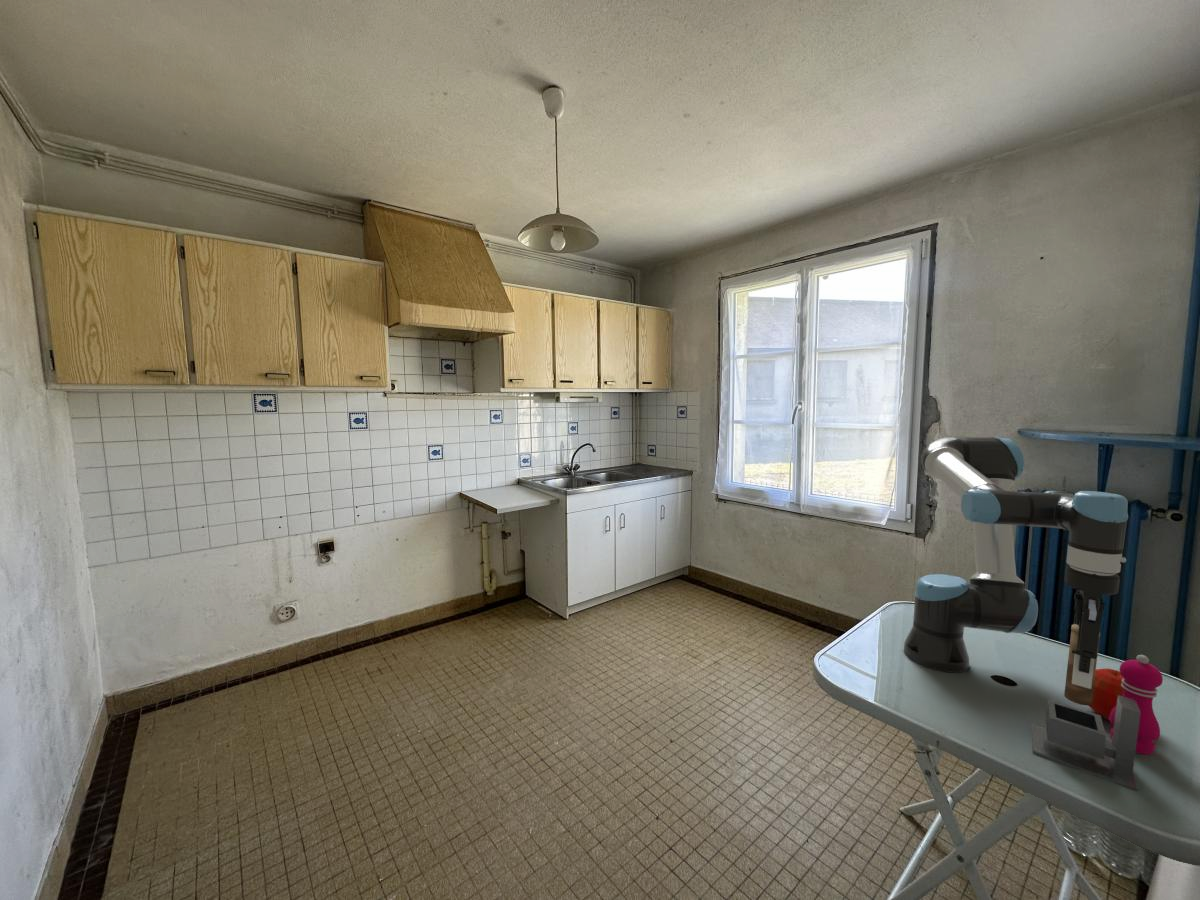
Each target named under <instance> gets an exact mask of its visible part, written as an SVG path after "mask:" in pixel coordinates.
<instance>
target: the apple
mask: <svg viewBox="0 0 1200 900" xmlns="http://www.w3.org/2000/svg"><path fill="white" fill-rule="evenodd" d="M1122 679H1124V678H1123V676H1122V675H1121V674H1120V670H1117V669H1116V670H1115V669H1113V668H1098V669H1097V668H1096V671H1095V680H1094V688H1093V697H1092V704H1091V705H1089V706H1088V707H1089V708H1090V709H1091V710H1093V711H1094V712H1095V714H1097V715H1101V718H1104V719H1106V720H1108V721H1110V720H1109V716H1110V712H1111V711H1112V709H1113V708H1114V707H1115V706H1116V705H1117V698H1118V695H1119V696H1123V693H1124V688H1123V687H1122V686H1121V683H1122Z"/></svg>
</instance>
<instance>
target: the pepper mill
mask: <svg viewBox="0 0 1200 900" xmlns="http://www.w3.org/2000/svg"><path fill="white" fill-rule="evenodd" d="M1135 658H1136V659H1127V660H1124V661H1122V663H1121V664H1120V666H1119V672H1120V674H1121V675H1122V676H1123V678H1124V679H1122V683H1121V686H1122V687H1123V688H1124V693H1123V697H1127V698H1130V699H1134V700H1136V702H1137V705H1138V707H1139V710H1140V712H1141V713H1140V721H1139V729H1138V736H1137V744H1136V751H1135V754H1136V753H1137V754H1141V755H1152V754H1154V752H1155V747H1156V745H1155V742H1154V741H1157V740H1159V738H1160V737H1161V727H1160V725H1159V721H1158V720H1157V717H1156V714H1155V712H1154V708H1153V699H1155V698H1156V697H1157V695H1158V694H1157V693H1158V689H1157V688H1158V687H1160V686H1162V685H1163V674H1162V672H1161V671H1160V670H1159V669H1158V668H1157V667H1156V666H1155V665H1153V664H1151V663H1150V659H1149V658H1148V657H1147V656H1146V655H1144V654H1138V655H1137V656H1136V657H1135ZM1116 706H1117V705H1116ZM1116 706H1115V707H1114V708H1113V709H1112V711H1111V712H1110V716H1109V720H1108V721H1109V722H1110V724H1111V725H1112V726H1113V727H1112V728H1111V729H1110V735H1109V736H1110V739H1111V740H1112V738H1113V730H1114V722H1115V714H1116Z"/></svg>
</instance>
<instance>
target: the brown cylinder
mask: <svg viewBox="0 0 1200 900" xmlns="http://www.w3.org/2000/svg"><path fill="white" fill-rule="evenodd" d="M1070 630H1071V632H1070V637H1069V638H1070V640H1069V650H1068V657H1067V664H1066V665H1067V668H1066V676H1065V685H1064V686H1065V687H1064V695H1063V696H1064V698H1066V699H1067V700H1068V701H1070V702H1072V703H1074V704H1076V705H1077V704H1078V705H1080V706H1088V707H1089V705H1091V704H1092V697H1093V688H1094V680H1095V671H1096V669H1097V662H1098V658H1097V659H1094V668H1093V677H1092V685H1091V689H1089V688H1086V687H1082V686H1078V685H1075V684H1072V675H1073V666H1074V657H1075V654H1074V653H1072V652H1071V650H1077V642H1078V630H1079V625H1078V624H1074V623H1073V624H1071V627H1070ZM1100 636H1101V631H1100V632H1099V638H1100ZM1099 643H1100V639H1099V640H1098V648H1097V655H1098V654H1099V645H1100V644H1099Z"/></svg>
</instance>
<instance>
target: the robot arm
mask: <svg viewBox="0 0 1200 900" xmlns="http://www.w3.org/2000/svg"><path fill="white" fill-rule="evenodd" d="M1024 457H1025V456H1024V454H1023V451H1022V449H1021V447H1020V446H1019V444H1018V443H1016V442H1015V441H1014V440H1012V439H1010V438H1003V437H996V436H991V437H990V436H989V437H987V436H985V437H984V436H983V437H982V436H981V437H979V436H978V437H977V436H946V437H942V438H938V439H936V440H934V441H932V442H930V444H928V445H927V446H925V448H924V450H923V452H922V454H921V458H920V459H921V460H920V461H921V466H922V468H923V469H924V471H925V472H926V473H927V474H928V475H929V476H930V477H932V478H934V479H938V480H940V481H941V482H942V483H944V484H945V486H947V487H948V488H949V489H950V490H951V491H952V492H953V493H954V494H956V496H958V497H959V499H960V510H961V512H962V516H963V517H964V519H966V520H967V521H969V522H970V523H971V522H972V530H973V532H972V533H973V544H974V559H975V573H974V574H973V575H972V576H970V577H969V582H970V583H969V584H968V581H967V580H965V579H964V578H962V577H959V576H956V575H950V574H941V573H938V574H937V573H934V574H933V573H932V574H927V575H924V576H923V575H922V576H921V577H920V578H918V579H917V582H916V585H915V591H914V607H913V619H912V620H913V622H912V627H911V628H910V630H909V633H908V634H907V636H906V639H905V640H904V646H903V652H904V653H905V655H906V656H907V657H908V658H909V659H911V660H912V661H914V662H916V663H918V664H920V665H922V666H924V667H927V668H929V669H933V670H937V671H941V672H948V673H962V672H966V671H967V670H968V669H969V665H970V658H969V657H970V656H969V654H968V651H967V650H968V649H967V647H966V642H965V640H964V630H965V628H971V629H978V630H985V631H994V632H1000V633H1001V632H1002V633H1006V634H1010V633H1013V634H1025V633H1028V632H1029V631H1031V630H1032V629H1033V627H1034V626H1035V625H1036V623H1037V620H1038V614H1039V603H1038V600H1037V599H1036V596H1035V594H1034V593H1033V592H1032V591H1031V590H1029V589H1026V587H1025V582H1024V581H1023V580H1022V579H1021V578H1020V577H1019V576H1018V575H1017V568H1016V566H1017V565H1016V558H1015V557H1016V555H1015V546H1014V545H1015V544H1014V534H1013V533H1014V532H1013V526H1025V527H1038V528H1054V529H1062V530H1064V531H1067V532H1069V536H1068V537H1069V539H1068V544H1067V553H1066V560H1065V561H1066V564H1067V565H1068V566H1066V567H1065V572H1064V573H1065V575H1064V576H1065V577H1064V583H1065V584H1066V585H1067V586H1068V587H1071V588H1072V589H1074V590H1076V591H1075V593H1074V596H1073V598H1074V618H1073V619H1074V620H1073V625H1074V624H1078V625H1079V630H1078V642H1077V650H1071V652H1072V653H1074V654H1075V657H1074V666H1073V675H1072V684H1075V685H1078V686H1082V687H1086V688H1089V689H1091V685H1092V677H1093V668H1094V659H1097V660H1098V654H1097V648H1098V649H1099V646H1098V640H1099V641H1100V637H1099V632H1100V633H1101V624H1102V620H1103V617H1104V613H1103V611H1105V605H1106V603H1105V602H1104V600H1103V598H1102V597H1101V596H1103V595H1106V596H1113V595H1116V594H1118V593H1119V589H1120V588H1119V587H1120V581H1121V580H1120V579H1121V576H1120V575H1119V573H1120V572H1121V569H1122V568H1121V567H1122V564H1121V563H1126V562H1127V559H1126V557H1123V553H1124V552H1123V551H1124V546H1125V539H1126V532H1127V524H1128V520H1129V513H1128V509H1129V508H1128V506H1129V505H1128V503H1129V501H1128V499H1127V497H1125V496H1124V495H1121V494H1117V493H1110V492H1104V491H1095V490H1080V491H1076V492H1075V494H1072V493H1069V492H1066V491H1058V490H1047V491H1044V492H1043V491H1042V492H1035V491H1034V492H1033V491H1015V490H1010V488H1011V487H1012V486H1014V485H1015V484H1016V479H1018V478H1020V477H1021V476H1022V474H1023V473H1024V467H1025V458H1024Z"/></svg>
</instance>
